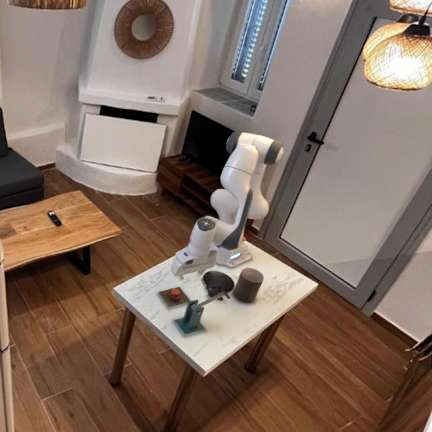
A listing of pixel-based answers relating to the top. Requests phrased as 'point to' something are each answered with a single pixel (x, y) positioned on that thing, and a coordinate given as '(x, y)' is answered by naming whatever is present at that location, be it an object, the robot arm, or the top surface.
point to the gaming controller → (214, 290)
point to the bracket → (191, 319)
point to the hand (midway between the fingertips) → (189, 277)
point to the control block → (173, 300)
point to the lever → (210, 299)
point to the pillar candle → (248, 285)
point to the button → (175, 292)
